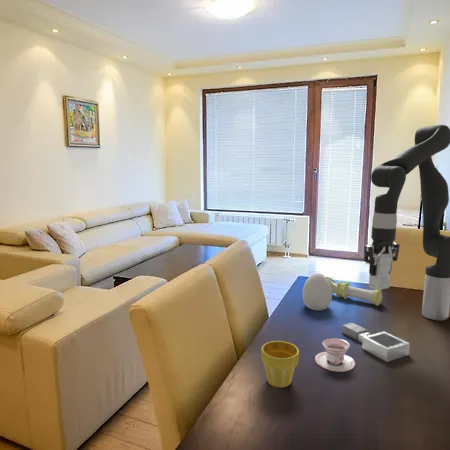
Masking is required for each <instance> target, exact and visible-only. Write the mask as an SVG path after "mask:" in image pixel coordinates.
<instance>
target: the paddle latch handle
mask: <svg viewBox="0 0 450 450" xmlns="http://www.w3.org/2000/svg"><path fill="white" fill-rule="evenodd" d="M341 328H342V329H341V331H342V334H343V335H345V336H347V337H349V338H351V339H353V340H355V341H357V342H360V343H361V344H362V345H361V348H362V350H365V351H366V352H368V353H370V354H371V355H373V356H375V357H377V358H379V359H380V360H382V361H384V362H386V363H388V362H392V361H395V360H397V359H401V358H403V357H407V356H409V354H410V345H411V344H410V342H407V340H406V341H405V340H404V339H401V338H400V337H397V336H395V335H394V334H391V333H390V332H389V333H388V332H387V331H385V330H383V331H380V332H376V333H373V334H372V333H371V332H368V329H366V328H364V327H362V326H361V325H359V324H356V323H355V322H349V323H345V324H342V327H341Z"/></svg>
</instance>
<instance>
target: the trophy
mask: <svg viewBox="0 0 450 450" xmlns="http://www.w3.org/2000/svg"><path fill="white" fill-rule="evenodd" d="M325 277H326V278H327V279H328V281H329V283H330V285H331V289H332V294H335V295H336V297H337V298H338V297H342V298H343V299H345V300H348V298H349V297H350V298H355V299H360V300H365V301H369V302H372V304H374V305H375V306H377V307H378V306H380V304H381V302H382V299H383V293H382V289H380V290H377V289H374V290H370V289H366V288H365V289H364V288H359V287H355V286H351V283H350V282H349V281H347V282H342V281H339V282H336V281H335V280H334V279H333V278H331V277H328V276H325Z"/></svg>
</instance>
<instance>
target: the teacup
mask: <svg viewBox="0 0 450 450" xmlns="http://www.w3.org/2000/svg"><path fill="white" fill-rule="evenodd" d="M321 344H322V346H323V348H324V350H325V351H322V352H319V353H317V354H316V355H315V358H314V361H315V363H316V364H317V365H318V366H319V367H321V368H322V369H325V370H328V371H330V372H331V371H332V372H337V373H338V372H340V373H341V372H342V373H344V372H349V371H351V370H353V369H355V367H356V366H355V365H356V361H355V360H354V358H352V357H351V356H349V355H347V354H346V353H347V351H348V350H349V348H351V347H350V346H351V345H350V343H349V342H348V341H347V340H345V339H342V338H337V337H336V338H335V337H334V338H333V337H331V338H327V339H324V340H323V341H322V343H321ZM328 361H329V362H328Z"/></svg>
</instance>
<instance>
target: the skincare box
mask: <svg viewBox="0 0 450 450" xmlns="http://www.w3.org/2000/svg"><path fill="white" fill-rule="evenodd" d="M373 255H375V256H377V255H378V254H375V253H373ZM374 260H375V258H374V259H373V261H374ZM391 261H392V257H391V258H390V255H389V254H382V255H380V259H379V260H378V262H377V264H376V265H377V270H376V276H372V275H370V274H369V277H368V287H369V288H371V289H374V290H380V289H381V290H385V289H390V288H391V287H390V283H391V273H392V269H391Z"/></svg>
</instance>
